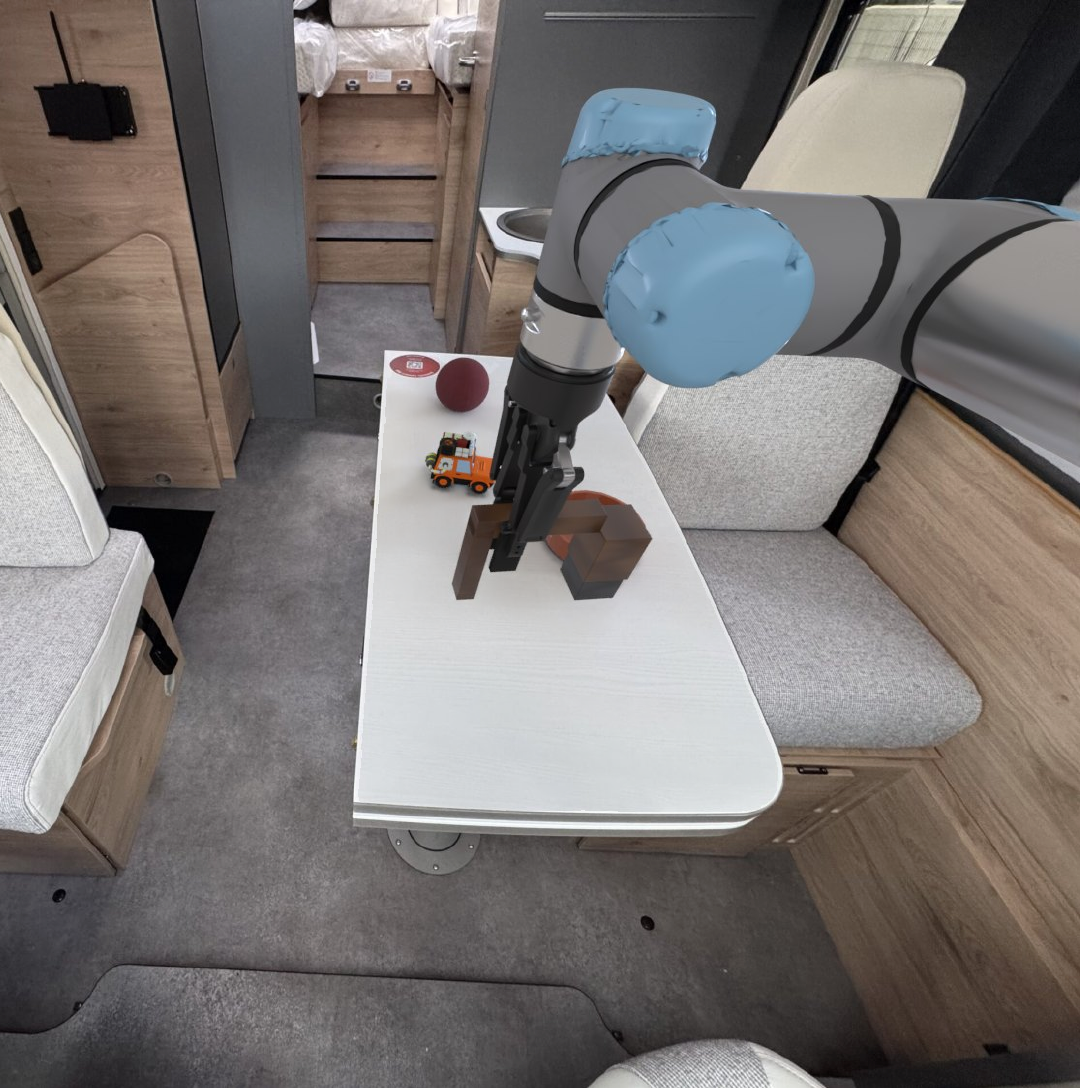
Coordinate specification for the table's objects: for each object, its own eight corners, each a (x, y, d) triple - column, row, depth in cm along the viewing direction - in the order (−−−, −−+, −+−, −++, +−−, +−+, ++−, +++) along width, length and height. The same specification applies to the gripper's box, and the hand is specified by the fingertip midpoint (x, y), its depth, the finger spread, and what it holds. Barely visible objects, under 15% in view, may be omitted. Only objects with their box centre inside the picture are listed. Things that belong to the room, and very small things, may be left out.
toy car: (424, 461, 100) (431, 419, 94) (493, 471, 99) (505, 429, 93) (420, 487, 95) (427, 444, 89) (493, 498, 94) (505, 455, 88)
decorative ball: (472, 428, 107) (483, 381, 100) (423, 412, 110) (430, 364, 103) (490, 403, 113) (502, 357, 106) (444, 388, 116) (452, 342, 109)
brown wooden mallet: (459, 609, 62) (481, 532, 53) (449, 574, 66) (468, 495, 57) (615, 599, 64) (662, 522, 55) (598, 565, 68) (639, 488, 59)
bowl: (652, 572, 85) (664, 554, 82) (561, 578, 83) (569, 560, 80) (612, 506, 94) (622, 488, 91) (529, 510, 93) (536, 492, 90)
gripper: (491, 305, 48) (447, 508, 65) (555, 411, 38) (482, 620, 55) (576, 304, 49) (510, 505, 66) (662, 408, 38) (557, 615, 56)
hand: (497, 557), depth 60 cm, fingers closed on brown wooden mallet, 2 cm apart
